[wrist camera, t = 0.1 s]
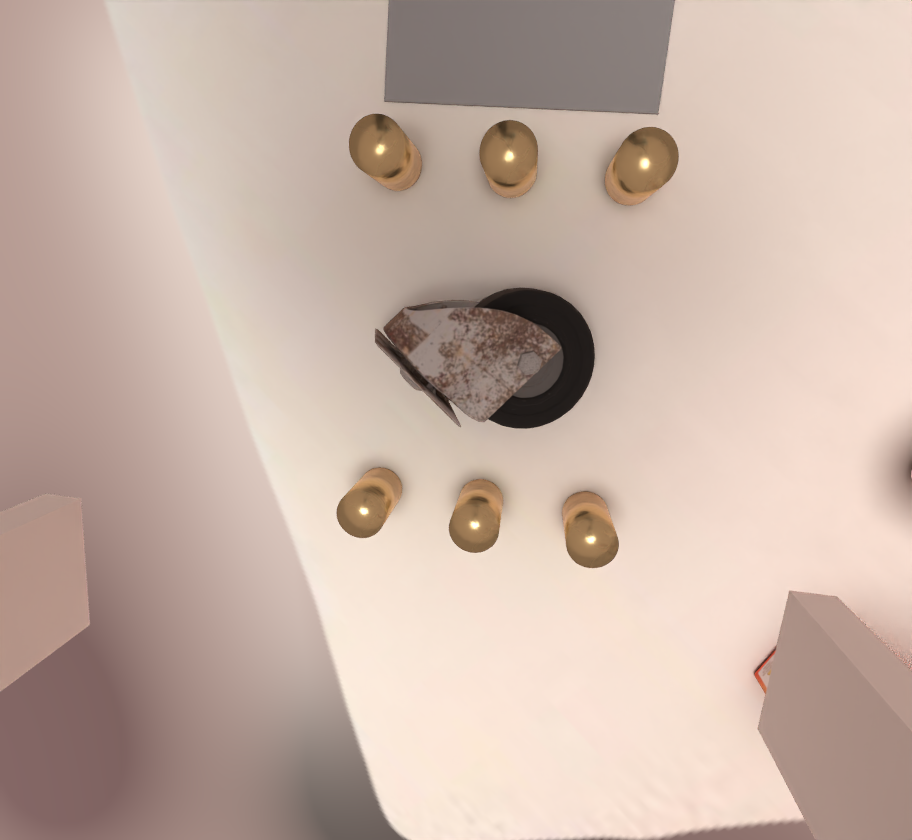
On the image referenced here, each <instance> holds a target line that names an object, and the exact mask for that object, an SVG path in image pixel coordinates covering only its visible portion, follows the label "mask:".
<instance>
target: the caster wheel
mask: <svg viewBox="0 0 912 840" xmlns="http://www.w3.org/2000/svg"><path fill="white" fill-rule="evenodd" d="M384 332H385V333H386V335H387V336H388V338H389V339H390V340H391V342H392V343H393V344H394V345H395V346H394V345H393V344H392V343H391V342H390V341H389V340H388V339H387V338H386V337H385V336H384V335H383V334H382V333H381V332H380V331H379V330H378V329H375V343H376V344H377V346H378V347H379V348H380V349H381V350H382V351H383V352H384V353H385V354H386V355H387V356H388V357H389V358H390V359H391V360H392V361H393V362H394V363H395V364H396V365H397V366H398V367H399V368H400V373H401V375H402V376H403V378H404V379H405V380H406V381H407V382H408V383H409V384H410V385H411V386H412V387H413V388H414V389H416V390H420V391H423V392H424V393H425V394H427V395H428V396H429V397H430V398H431V399H432V400H433V401H434V402H435V403H436V404H437V405H438V406H439V407H440V408H441V409H442V410H443V411H444V412H445V413H446V414H447V415H448V416H449V417H450V418H451V419H452V420H453V421H454V422H455V423H456V424H457V425H458V426H460V427H461V425H460V423H459V421H458V419H457V417H456V415H455V413H454V411H453V409H452V407H451V405H450V403H449V401H448V400H447V399H446V397H447V398H449V399H450V400H451V401H452V402H453V403H454V404H455V405H456V406H457V407H458V408H459V409H461V410H462V411H463V412H464V413H465V414H466V415H468V416H469V417H471V418H473V419H475V420H477V421H479V422H485V421H486V420H487V419H489V420H491V421H493V422H495V423H498V424H500V425H502V426H506V427H512V428H534V427H539V426H543V425H545V424H548V423H551V422H553V421H554V420H556V419H558V418H560V417H561V416H563V415H564V414H565V413H567V412H568V411H569V410H570V409H572V408H573V406H574V405H575V404H576V403H577V402H578V401H579V399H580V398H581V397H582V395H583V393H584V392H585V390H586V388H587V386H588V384H589V382H590V379H591V376H592V372H593V367H594V359H595V353H594V343H593V338H592V335H591V331H590V329H589V327H588V325H587V323H586V321H585V320H584V318H583V317H582V315H581V314H580V313H579V312H578V311H577V310H576V309H575V307H574V306H573V305H572V304H570V303H569V302H567V301H566V300H564V299H563V298H561V297H559V296H557V295H555V294H553V293H550V292H546V291H541V290H537V289H530V288H514V289H506V290H503V291H500V292H497V293H494V294H492V295H491V296H489V297H487V298H485V299H483V300H482V301H481V302H480V303H479V302H474V301H465V300H450V301H439V302H433V303H427V304H422V305H418V306H412V307H404V308H403V309H402V310H401V311H400V312H399V313H398V314H397V315H396V316H395V317H394V318H393V319H392V320H391V321H390V322H389V323H388V324H387V325H386V326H385V327H384ZM443 394H444V395H445V396H446V397H445V396H444V395H443Z"/></svg>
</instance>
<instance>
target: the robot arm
mask: <svg viewBox="0 0 912 840" xmlns="http://www.w3.org/2000/svg"><path fill="white" fill-rule="evenodd" d="M85 562H86V561H85V548H84V533H83V519H82V505H81V498H74V497H67V496H59V495H52V494H43V495H41V496H38V497H36V498H33V499H31V500H29V501H26V502H24V503H21V504H19V505H16V506H14V507H12V508H9V509H7V510H4V511H2V512H0V691H2V690H3V689H4V688H6V687H7V686H8V685H10V684H11V683H12V682H14V681H15V680H16V679H18V678H19V677H20V676H22V675H23V674H24V673H26V672H27V671H29V670H30V669H31V668H33V667H34V666H35V665H37V664H38V663H39V662H40V661H42V660H43V659H45V658H46V657H47V656H49V655H50V654H51V653H53V652H54V651H55V650H57V649H58V648H59V647H60V646H62V645H63V644H65V643H66V642H67V641H69V640H70V639H71V638H72V637H74V636H75V635H77V634H78V633H79V632H81V631H82V630H83V629H85V628H86V627H87V626H89V625H90V618H89V604H88V590H87V576H86V563H85ZM758 730H759V732H760V734H761V736H762V738H763V740H764V742H765V744H766V746H767V748H768V749H769V751H770V753H771V755H772V757H773V759H774V761H775V763H776V765H777V767H778V769H779V771H780V773H781V775H782V776H783V778H784V780H785V782H786V784H787V786H788V788H789V790H790V792H791V794H792V796H793V798H794V800H795V802H796V803H797V805H798V807H799V809H800V811H801V813H802V815H803V817H804V819H805V821H806V823H807V825H808V827H809V828H810V830H811V832H812V834H813V836H814V838H815V840H912V671H911V670H910V669H909V668H908V667H907V666H906V665H905V664H904V663H903V662H902V661H901V660H900V659H899V658H898V657H897V656H896V655H895V654H894V653H893V652H892V651H891V650H890V649H889V648H888V647H887V646H886V645H885V644H884V643H883V642H882V641H881V640H880V639H879V638H878V637H877V636H876V635H875V634H874V633H873V632H872V631H871V630H870V629H869V628H868V627H867V626H866V625H865V624H864V623H863V622H862V621H861V620H860V619H859V618H858V617H857V616H856V615H855V614H854V613H853V612H852V611H851V610H850V609H849V608H848V607H847V606H846V605H845V604H844V603H843V602H842V601H841V600H840V599H839V598H838V597H835V596H828V595H820V594H812V593H805V592H797V591H789V594H788V599H787V603H786V607H785V612H784V616H783V620H782V625H781V629H780V634H779V638H778V642H777V647H776V651H775V655H774V660H773V664H772V668H771V673H770V677H769V682H768V686H767V690H766V695H765V699H764V703H763V708H762V712H761V717H760V721H759V725H758Z"/></svg>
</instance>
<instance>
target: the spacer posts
mask: <svg viewBox="0 0 912 840" xmlns="http://www.w3.org/2000/svg"><path fill="white" fill-rule="evenodd" d="M349 150H350V155H351V157H352V159H353V161H354V163H355V164H356V165H357V167H358V168H360V169H361V170H362V171H363V172H365V173H366V174H368V175H369V176H371V177H372V178H373V179H375V180H376V181H378V182H379V183H380V184H382V185H383V186H385V187H386V188H388V189H390V190H394V191H402V190H406V189H408V188H410V187H411V186H412V185H414V183H415V182H416V181H417V180H418V178H419V176H420V173H421V169H422V160H421V156H420V153H419V151H418V149H417V148H416V147H415V145H414V144H413V143H412V142H411V141H410V139H409V138H408V137H407V136H406V134H405V133H404V132H403V131H402V129H401V128H400V127H399V126H398V125H397V123H396V122H395V121H394V120H392V119H391V118H390V117H388V116H385V115H382V114H371V115H368V116H365V117H363V118H362V119H361V120H359V121H358V122H357V123H356V125H355V126H354V128H353V129H352V132H351V134H350V138H349ZM479 155H480V161H481V164H482V167H483V169H484V172H485V174H486V177H487V179H488V182H489V184H490V186H491V188H492V189H493V190H494V191H495V192H496V193H497V194H499V195H500V196H503V197H506V198H516V197H519V196H521V195H523V194H525V193H526V192H528V191H529V190H530V188H531V187H532V186H533V184H534V182H535V179H536V176H537V158H538V146H537V141H536V138H535V136H534V134H533V133H532V131H531V130H530V129H529V128H528V127H527V126H526V125H524V124H523V123H520V122H518V121H513V120H507V121H502V122H499V123H497V124H495V125H494V126H492V127H491V128H490V129H489V130H488V131H487V132H486V134H485V135H484V137H483V139H482V142H481V145H480V154H479ZM678 157H679V156H678V148H677V145H676V143H675V141H674V139H673V138H672V137H671V135H670V134H668V133H667V132H666V131H664V130H662V129H659V128H655V127H646V128H642V129H639V130H637V131H635V132H633V133H632V134H630V135H629V136H628V137H627V138H626V139H625V140H624V142H623V143H622V145H621V147H620V148H619V150H618V151H617V153H616V155H615V156H614V158H613V160H612V161H611V163H610V165H609V166H608V168H607V171H606V174H605V187H606V190H607V192H608V194H609V196H610V197H611V198H612V199H613V200H614V201H616V202H617V203H619V204H622V205H636V204H639V203H641V202H643V201H644V200H646V199H647V198H648V197H649V196H651V195H652V194H653V193H654V192H656V191H657V190H658V189H659V188H661V187H662V186H663V185H664V184H665V183H667V182H668V181H669V179H670V178H671V177H672V176H673V174H674V172H675V170H676V168H677V164H678ZM401 495H402V484H401V481H400V479H399V477H398V476H397V475H396V474H395V473H394V472H393V471H391V470H389V469H386V468H381V467H379V468H373V469H371V470H369V471H368V472H366V473H365V474H364V475H363V477H362V478H361V479H360V480H359V481H358V482H357V483H356V484H355V485H354V486H353V487H352V488H351V490H350V491H349V492H348V493H347V494H346V495H345V496H344V497H343V498H342V499H341V501H340V502H339V504H338V507H337V519H338V522H339V524H340V526H341V527H342V528H343V529H344V530H345V531H346V532H347V533H348V534H350V535H352V536H354V537H358V538H367V537H371V536H373V535H375V534H376V533H377V532H378V531H379V530H380V529H381V527H382V526H383V524H384V523H385V521H386V520H387V518H388V517H389V515H390V513H391V512H392V510H393V509H394V507H395V506H396V504H397V503H398V501H399V499H400V498H401ZM502 506H503V496H502V493H501V491H500V489H499V488H498V487H497V486H496V485H495V484H494V483H492V482H490V481H488V480H484V479H477V480H473V481H470V482H469V483H467V484H466V485H465V486H464V487H463V489H462V490H461V492H460V495H459V498H458V501H457V503H456V506H455V509H454V512H453V515H452V517H451V520H450V524H449V533H450V536H451V538H452V540H453V542H454V543H455V544H456V545H457V546H458V547H459V548H461V549H463V550H465V551H468V552H473V553H478V552H483V551H485V550H487V549H489V548H490V547H492V546H493V545H494V543H495V542H496V540H497V538H498V534H499V527H500V520H501V513H502ZM562 516H563V524H564V532H565V539H566V547H567V551H568V553H569V555H570V557H571V558H572V559H573V560H574V561H575V562H576V563H577V564H579V565H581V566H584V567H587V568H598V567H602V566H604V565H606V564H608V563H609V562H611V561H612V560H613V559H614V557H615V556H616V554H617V551H618V547H619V541H618V537H617V534H616V532H615V529H614V526H613V523H612V520H611V517H610V514H609V511H608V508H607V506H606V503H605V502H604V500H603V499H602V498H601V497H600V496H598V495H597V494H595V493H592V492H586V491H583V492H578V493H575V494H573V495H571V496H570V497H569V498H568V499H567V500H566V501H565V503H564V505H563V509H562Z"/></svg>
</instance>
